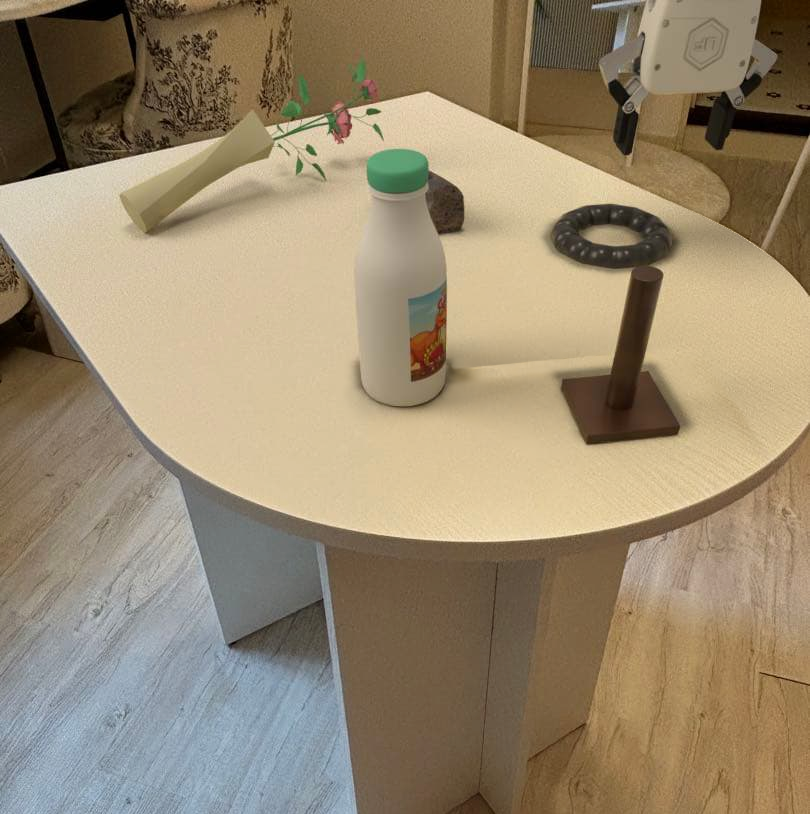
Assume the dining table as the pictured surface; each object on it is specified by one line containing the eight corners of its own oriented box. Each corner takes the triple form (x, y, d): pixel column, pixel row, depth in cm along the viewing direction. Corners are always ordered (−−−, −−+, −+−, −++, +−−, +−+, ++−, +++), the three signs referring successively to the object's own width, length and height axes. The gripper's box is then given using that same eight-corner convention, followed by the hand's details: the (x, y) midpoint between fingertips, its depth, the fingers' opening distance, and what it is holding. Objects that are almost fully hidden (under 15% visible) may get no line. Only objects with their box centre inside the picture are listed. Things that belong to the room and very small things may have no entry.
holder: (646, 379, 73) (679, 243, 63) (678, 434, 67) (719, 295, 58) (560, 388, 72) (581, 252, 63) (586, 444, 67) (612, 305, 57)
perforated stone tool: (357, 210, 98) (353, 151, 92) (392, 198, 100) (390, 140, 95) (432, 256, 89) (432, 195, 84) (468, 242, 91) (470, 181, 86)
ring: (644, 220, 94) (649, 195, 92) (685, 275, 85) (692, 248, 83) (537, 229, 93) (540, 204, 91) (567, 285, 84) (571, 259, 82)
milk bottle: (381, 418, 70) (368, 188, 55) (349, 371, 74) (329, 149, 60) (460, 395, 72) (468, 168, 57) (423, 351, 76) (422, 131, 62)
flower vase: (157, 274, 103) (361, 141, 112) (191, 284, 94) (410, 138, 103) (102, 185, 96) (325, 51, 105) (132, 187, 86) (373, 40, 95)
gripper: (633, -44, 66) (597, 167, 78) (830, -51, 67) (763, 157, 80) (606, -63, 71) (576, 138, 84) (789, -69, 73) (733, 129, 85)
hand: (668, 147), depth 82 cm, fingers open, 9 cm apart
